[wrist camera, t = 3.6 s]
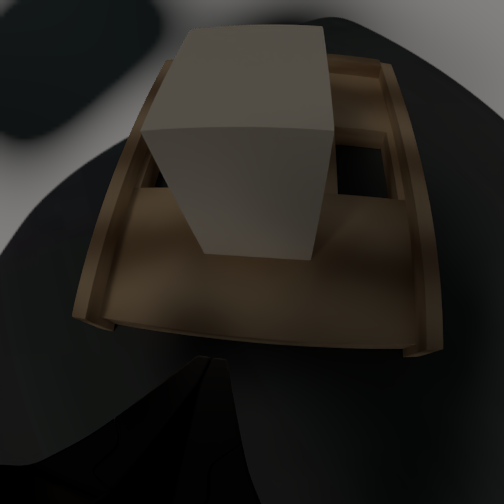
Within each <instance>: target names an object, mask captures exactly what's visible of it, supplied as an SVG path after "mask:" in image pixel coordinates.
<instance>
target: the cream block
mask: <svg viewBox="0 0 504 504" xmlns="http://www.w3.org/2000/svg"><path fill="white" fill-rule="evenodd" d="M140 132H141V134H142V136H143V138H144V140H145V142H146V144H147V146H148V148H149V150H150V152H151V154H152V156H153V158H154V160H155V162H156V163H157V165H158V167H159V169H160V171H161V173H162V175H163V177H164V179H165V181H166V183H167V185H168V187H169V189H170V190H171V192H172V194H173V196H174V198H175V200H176V202H177V204H178V206H179V207H180V209H181V211H182V213H183V215H184V217H185V219H186V221H187V222H188V224H189V226H190V228H191V230H192V232H193V234H194V235H195V237H196V239H197V241H198V243H199V245H200V246H201V248H202V250H203V252H204V254H216V255H231V256H247V257H263V258H278V259H294V260H310V261H311V257H312V252H313V247H314V242H315V237H316V232H317V227H318V222H319V217H320V212H321V206H322V201H323V195H324V190H325V184H326V179H327V173H328V167H329V161H330V155H331V149H332V143H333V137H334V120H333V108H332V98H331V88H330V79H329V70H328V62H327V54H326V47H325V39H324V32H323V27H322V26H306V25H236V26H221V27H208V28H199V29H190V31H189V33H188V34H187V36H186V38H185V40H184V42H183V43H182V45H181V47H180V49H179V51H178V53H177V55H176V57H175V58H174V60H173V62H172V64H171V66H170V68H169V70H168V72H167V74H166V76H165V78H164V80H163V82H162V84H161V86H160V88H159V90H158V92H157V94H156V96H155V99H154V101H153V103H152V105H151V107H150V109H149V112H148V114H147V116H146V118H145V121H144V123H143V125H142V128H141V130H140Z"/></svg>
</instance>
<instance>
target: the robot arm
mask: <svg viewBox="0 0 504 504" xmlns="http://www.w3.org/2000/svg"><path fill="white" fill-rule="evenodd" d="M0 504H261V503H260V500H259V498H258V495H257V493H256V491H255V488H254V485H253V483H252V480H251V477H250V474H249V471H248V467H247V463H246V459H245V455H244V450H243V446H242V441H241V436H240V431H239V425H238V420H237V415H236V410H235V404H234V399H233V393H232V388H231V382H230V376H229V371H228V365H227V360H226V359H221V358H210V357H205V356H197V357H195V358H194V359H193V360H191V361H190V362H189V363H188V364H186V365H185V366H184V367H182V368H181V369H180V370H178V371H177V372H176V373H175V374H173V375H172V376H171V377H169V378H168V379H167V380H165V381H164V382H163V383H161V384H160V385H159V386H157V387H156V388H155V389H153V390H152V391H151V392H149V393H148V394H147V395H145V396H144V397H143V398H141V399H140V400H139V401H137V402H136V403H135V404H133V405H132V406H131V407H129V408H128V409H127V410H125V411H124V412H122V413H121V414H120V415H118V416H117V417H116V418H115V419H113V420H111V421H110V422H108V423H107V424H106V425H104V426H103V427H101V428H100V429H98V430H97V431H95V432H94V433H92V434H91V435H89V436H87V437H85V438H84V439H82V440H80V441H79V442H77V443H75V444H73V445H71V446H69V447H67V448H65V449H64V450H62V451H60V452H58V453H56V454H54V455H52V456H50V457H48V458H46V459H44V460H42V461H40V462H37V463H34V464H30V465H23V466H13V465H0Z"/></svg>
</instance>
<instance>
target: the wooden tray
mask: <svg viewBox="0 0 504 504" xmlns="http://www.w3.org/2000/svg"><path fill="white" fill-rule="evenodd" d="M173 60H174V59H173ZM173 60H167V61H165V63H164V65H163V67H162V69H161V71H160V73H159V75H158V77H157V78H156V81H155V82H154V84H153V86H152V88H151V90H150V92H149V94H148V96H147V98H146V101H145V103H144V105H143V107H142V109H141V111H140V113H139V115H138V117H137V120H136V122H135V124H134V126H133V128H132V131H131V133H130V135H129V137H128V140H127V142H126V145H125V147H124V149H123V152H122V154H121V157H120V159H119V162H118V164H117V167H116V169H115V172H114V174H113V177H112V180H111V182H110V185H109V188H108V191H107V193H106V196H105V199H104V202H103V205H102V208H101V211H100V214H99V217H98V220H97V223H96V226H95V229H94V233H93V236H92V239H91V242H90V246H89V249H88V253H87V256H86V260H85V264H84V267H83V271H82V275H81V279H80V283H79V287H78V291H77V295H76V300H75V304H74V308H73V313H72V317H74V318H77V319H79V320H81V321H84V322H86V323H88V324H91V325H93V326H96V327H98V328H101V329H105V330H110V331H114V326H115V324H119V325H125V326H130V327H136V328H142V329H149V330H155V331H162V332H169V333H176V334H183V335H190V336H198V337H206V338H215V339H224V340H233V341H243V342H254V343H265V344H278V345H292V346H309V347H329V348H360V349H403V357H418V356H422V355H425V354H429V353H432V352H436V351H439V350H442V349H443V318H442V299H441V285H440V274H439V264H438V255H437V247H436V240H435V233H434V226H433V220H432V214H431V208H430V202H429V197H428V192H427V187H426V182H425V178H424V173H423V169H422V164H421V160H420V156H419V152H418V148H417V144H416V140H415V137H414V133H413V129H412V126H411V123H410V119H409V116H408V113H407V109H406V106H405V103H404V100H403V97H402V94H401V91H400V88H399V85H398V82H397V79H396V77H395V74H394V71H393V68H392V66H391V64H385V63H380V61H379V60H377V59H370V58H363V57H355V56H346V55H336V54H327V62H328V70H329V79H330V88H331V98H332V108H333V120H334V137H333V143H332V149H331V155H330V161H329V167H328V173H327V179H326V184H325V190H324V195H323V201H322V206H321V212H320V217H319V222H318V227H317V232H316V237H315V242H314V247H313V252H312V257H311V261H310V260H294V259H278V258H263V257H247V256H231V255H216V254H204V252H203V250H202V248H201V246H200V245H199V243H198V241H197V239H196V237H195V235H194V234H193V232H192V230H191V228H190V226H189V224H188V222H187V221H186V219H185V217H184V215H183V213H182V211H181V209H180V207H179V206H178V204H177V202H176V200H175V198H174V196H173V194H172V192H171V190H170V189H169V188H155V184H156V181H157V178H158V175H159V171H160V169H159V167H158V165H157V163H156V162H155V160H154V158H153V156H152V154H151V152H150V150H149V148H148V146H147V144H146V142H145V140H144V138H143V136H142V134H141V132H140V130H141V128H142V125H143V123H144V121H145V118H146V116H147V114H148V112H149V109H150V107H151V105H152V103H153V101H154V99H155V96H156V94H157V92H158V90H159V88H160V86H161V84H162V82H163V80H164V78H165V76H166V74H167V72H168V70H169V68H170V66H171V64H172V62H173ZM335 145H345V146H356V147H366V148H375V149H381V154H382V160H383V166H384V173H385V180H386V187H387V195H388V198H377V197H367V196H355V195H343V194H338V188H337V166H336V149H335Z"/></svg>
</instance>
